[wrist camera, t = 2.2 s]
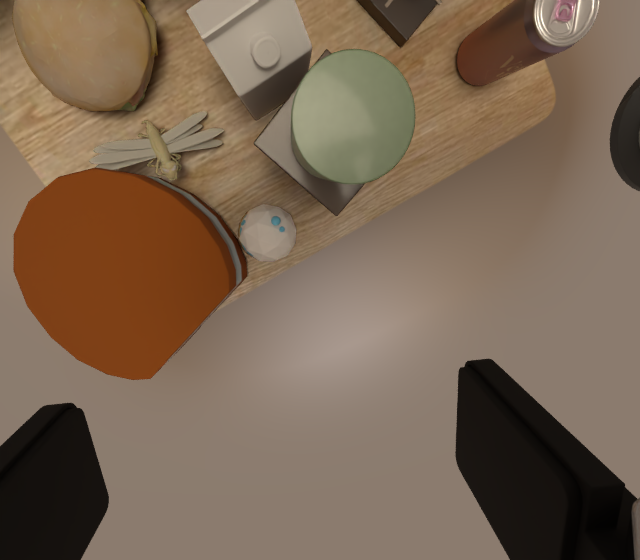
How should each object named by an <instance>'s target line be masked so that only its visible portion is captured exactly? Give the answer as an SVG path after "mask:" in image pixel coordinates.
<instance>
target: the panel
mask: <svg viewBox="0 0 640 560" xmlns="http://www.w3.org/2000/svg"><path fill="white" fill-rule="evenodd" d="M357 1H358V2H359V3H360V4H361V5H362V6H363V7H364V8H365V9H366V11H367V12H368V13H369V14H370V15H371V16H372V17H373V18H374V19H375V20H376V21H377V22H378V24H379V25H380V26H381V27H382V28H383V29H384V30H385V31H386V32H387V33H388V34H389V35H390V37H391V38H392V39H393V40H394V41H395V42H396V43H397V44H398V45H399V46H400V47H402V45H403V44H404V43H405V42H406V41H407V40H408V39H409V37H410V36H411V35H412V34H413V32H414V31H415V30H416V29H417V28H418V26H419V25H420V24H421V23H422V21H423V20H424V19H425V18H426V17H427V15H428V14H429V13H430V12H431V10H432V9H433V8H434V7H435V6H436V4H437V3H438V4H439V5H440V4H441V3H442V1H441V0H357Z"/></svg>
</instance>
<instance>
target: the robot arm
mask: <svg viewBox="0 0 640 560" xmlns="http://www.w3.org/2000/svg"><path fill="white" fill-rule="evenodd" d="M639 146H640V130H639ZM456 461H457V464H458V467H459V470H460V471H461V473H462V475H463V477H464V479H465V481H466V482H467V484H468V486H469V488H470V489H471V491H472V493H473V495H474V497H475V498H476V500H477V502H478V503H479V505H480V507H481V509H482V511H483V512H484V514H485V516H486V518H487V520H488V521H489V523H490V525H491V527H492V528H493V530H494V532H495V534H496V535H497V537H498V539H499V540H500V543H501V544H502V546H503V548H504V550H505V551H506V553H507V555H508V557H509V559H510V560H640V498H639V499H637V498H636V497H635V496H634V495H632V494H631V492H629V491H628V490H627V489H626V488H625V484H624V483H623V482H622V481H621V480H620V479H619V478H618V477H617V476H616V475H615V474H613V473H612V472H611V471H610V470H609V469H608V468H607V467H606V466H605V465H604V464H603V463H602V462H601V461H600V460H599V459H598V458H596V456H594V455H593V454H592V453H591V452H590V451H589V450H588V449H587V448H586V447H585V446H584V445H583V444H581V442H580V441H578V440H577V439H576V438H575V437H574V436H573V435H572V434H571V433H570V432H569V431H568V430H567V429H566V428H564V426H562V425H561V424H560V423H559V422H558V421H557V420H556V419H555V418H554V417H553V416H552V415H551V414H550V413H548V412H547V411H546V410H545V409H544V408H543V407H542V406H541V405H540V404H539V403H538V402H537V401H536V400H535V399H534V398H533V397H531V396H530V395H529V394H528V393H527V392H526V391H525V390H524V389H523V388H522V387H521V386H520V385H519V384H518V383H517V382H515V381H514V380H513V379H512V378H511V377H510V376H509V375H508V374H507V373H506V372H505V371H504V370H503V369H502V368H500V367H499V366H498V365H497V364H496V363H495V362H494V361H493V360H491V359H482V360H472V361H467V362H466V364H465V367H462V368H460V369H459V375H458V403H457V430H456ZM108 503H109V496H108V492H107V489H106V485H105V482H104V479H103V475H102V472H101V468H100V465H99V462H98V459H97V455H96V452H95V448H94V445H93V442H92V438H91V435H90V432H89V428H88V425H87V421H86V418H85V415H84V412H83V411H82V409H80V408H77V407H76V406H75V405H74V404H73V403H63V404H54V405H46V406H43V407H42V408H40V409H39V410H38V411H37V412H36V413H35V414H34V415H33V416H32V417H31V418H30V419H29V420H28V421H26V422H25V424H23V425H22V426H21V427H20V428H19V429H18V430H17V431H16V432H15V433H14V434H13V435H12V436H11V437H10V438H9V439H7V440H6V441H5V442H4V443H3V444H2V445H1V446H0V560H81V558H82V556H83V554H84V552H85V550H86V548H87V547H88V545H89V543H90V541H91V539H92V537H93V536H94V534H95V532H96V530H97V528H98V526H99V525H100V523H101V521H102V519H103V517H104V515H105V513H106V511H107V508H108Z"/></svg>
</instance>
